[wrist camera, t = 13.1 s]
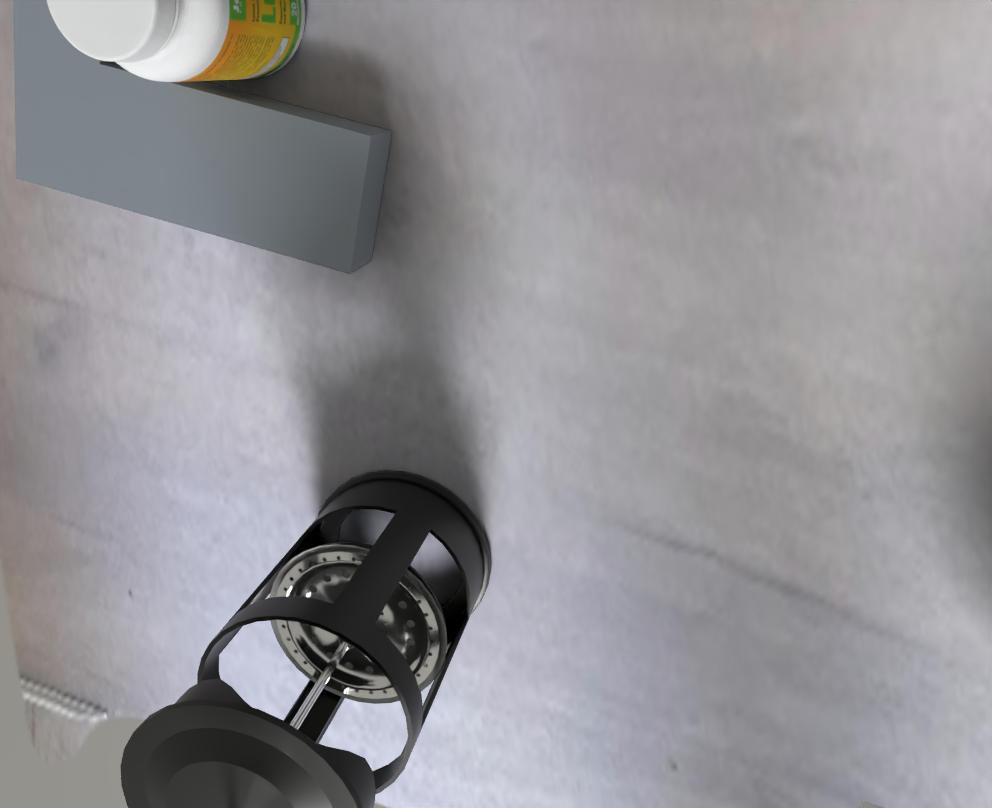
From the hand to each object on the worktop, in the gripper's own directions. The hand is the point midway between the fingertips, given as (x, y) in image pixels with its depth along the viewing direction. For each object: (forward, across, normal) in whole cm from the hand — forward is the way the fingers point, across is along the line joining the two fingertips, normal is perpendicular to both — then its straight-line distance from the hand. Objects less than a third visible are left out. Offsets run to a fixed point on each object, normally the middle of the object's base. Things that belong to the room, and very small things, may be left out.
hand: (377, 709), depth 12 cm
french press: (+27, +6, +17) cm, 32 cm away
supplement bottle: (+27, +17, -7) cm, 33 cm away
